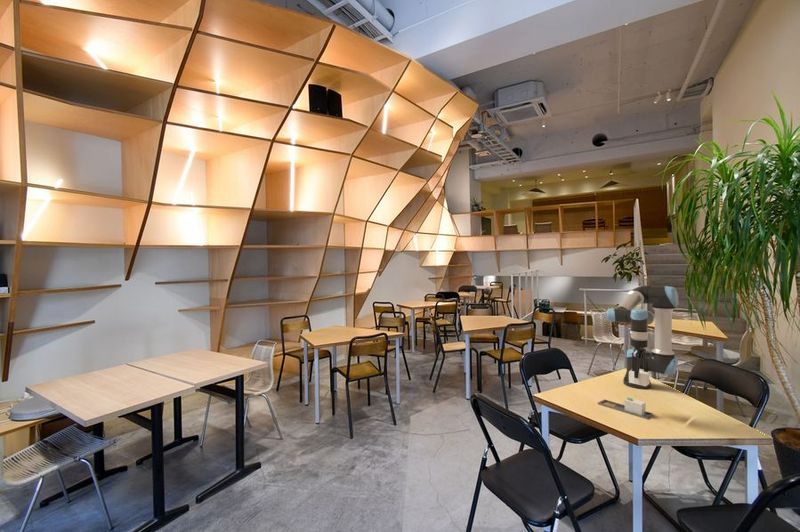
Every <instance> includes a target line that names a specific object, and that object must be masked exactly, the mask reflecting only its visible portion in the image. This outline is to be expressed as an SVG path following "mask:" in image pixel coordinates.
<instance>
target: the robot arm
mask: <svg viewBox="0 0 800 532" xmlns="http://www.w3.org/2000/svg"><path fill="white" fill-rule="evenodd" d="M679 299H680V298H679V294H678V291H677V288H676V287H674V286H668V285H647V284H646V285H640V286H638V287H635V288H633V289H631V290H630V291H629V292H627V294H626V297H625V298H624V299H623V300H622V301H621V302H620V303H619V304H618V305H617V306H616V307H615V308H614V307H611V308H608V309H607V311H606V320H607V321H609V322H613V323H621V324H622V323H623V324H630V331H629V333H630V346H631V347H634V348H629V349H628V350H627V351H626V372H625V375H624V377H623V380H622V381H623V382H622V383H623V385H625V386H628V387H630V388H633V389H640V390H641V389H642V390H648V389H651V388H652V382H651V379H650V378H649V385H647V386H642V385H640V372H639V371H643V372H648V373H649V372H650V373H651V372H652V373H657V374H662V375H664V376H665V375H668V376H673V375H675V373H676V371H677V368H678V364H679V357H678V356H676V354H675V352H674V350H672V342H673V341H672V340H673V339H672V337H673V336H672V334H673V333H672V332H673V326H672V324H673V322H672V321H673V311H674V310H675V309H676V307H678V306H679ZM646 304H647V305H651V308H652V309H653V310H654V313H653V312H651V311H650V310H646V309H640V308H637V307H638V306H640V305H646ZM653 322H654V347H653V349H651V352H649V349H647V348H648V338H649V335H648V334H649V332H648V330H649V328H648V325H651V324H652V323H653ZM631 369H632V371H634V384H633V383H629V371H630V370H631ZM638 384H639V385H638Z"/></svg>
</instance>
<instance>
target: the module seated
mask: <svg viewBox="0 0 800 532" xmlns="http://www.w3.org/2000/svg"><path fill="white" fill-rule="evenodd" d="M624 405H625V411H629V412H632V413H635V414H639V415H642V416H643V415H644V414H645V411H646V402H645V401H642V400H638V399H634V398H633V397H629V396H628V397H627V398H626V399H625V400H624Z"/></svg>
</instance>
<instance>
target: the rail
mask: <svg viewBox="0 0 800 532" xmlns="http://www.w3.org/2000/svg"><path fill="white" fill-rule="evenodd" d="M597 405H599V406H602V407H605V408H609V409H612V410H615V411H619V412H622V413H625V414H629V415H632V416H634V417H638V418H641V419H643V420H644V419H646V420H648V419H650V418H651V417H652V416H654V413H652V412H650V411H646V410H645V414H644V415H643V416H642V415H639V414H635V413H632V412H629V411H625V404H621V403H618V402H615V401H612V400H609V399H608V400H607V399H605V398H604V399H602V400H600V401H598V402H597Z"/></svg>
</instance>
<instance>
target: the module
mask: <svg viewBox="0 0 800 532" xmlns="http://www.w3.org/2000/svg"><path fill="white" fill-rule="evenodd" d="M639 372H640V385H642V386H647V385H649V379H650V372H649V371H648V372H643V371H639ZM629 383H633V384H634V371H632V369H631V370H630V371H629ZM638 385H639V384H638Z"/></svg>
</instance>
